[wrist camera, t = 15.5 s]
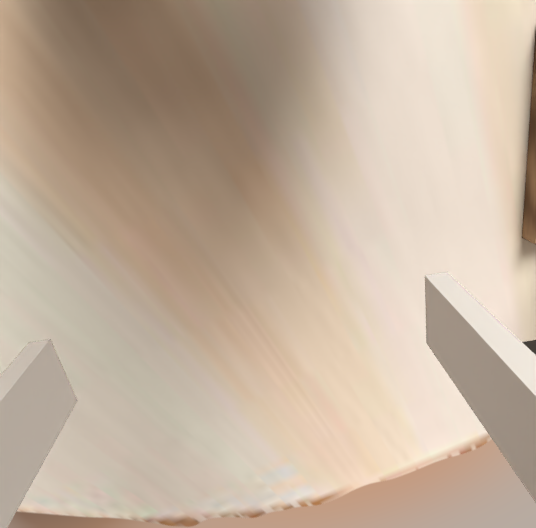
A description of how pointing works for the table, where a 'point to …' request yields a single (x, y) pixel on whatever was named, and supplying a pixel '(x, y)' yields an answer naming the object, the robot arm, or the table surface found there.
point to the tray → (531, 170)
